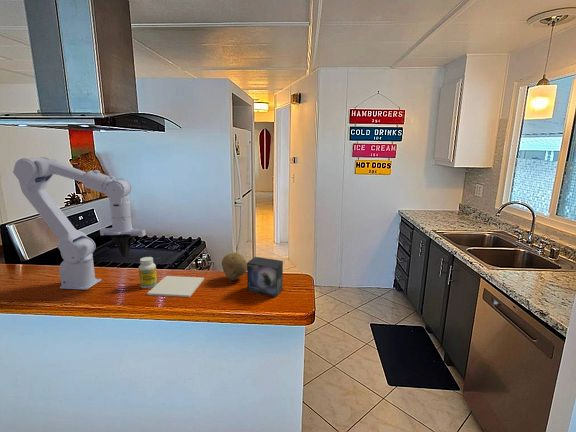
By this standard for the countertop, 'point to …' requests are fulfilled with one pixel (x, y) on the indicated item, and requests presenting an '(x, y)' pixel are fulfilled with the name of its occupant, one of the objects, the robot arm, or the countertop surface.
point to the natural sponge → (234, 266)
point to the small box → (265, 276)
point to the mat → (176, 286)
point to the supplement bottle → (147, 273)
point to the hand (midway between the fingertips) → (125, 256)
